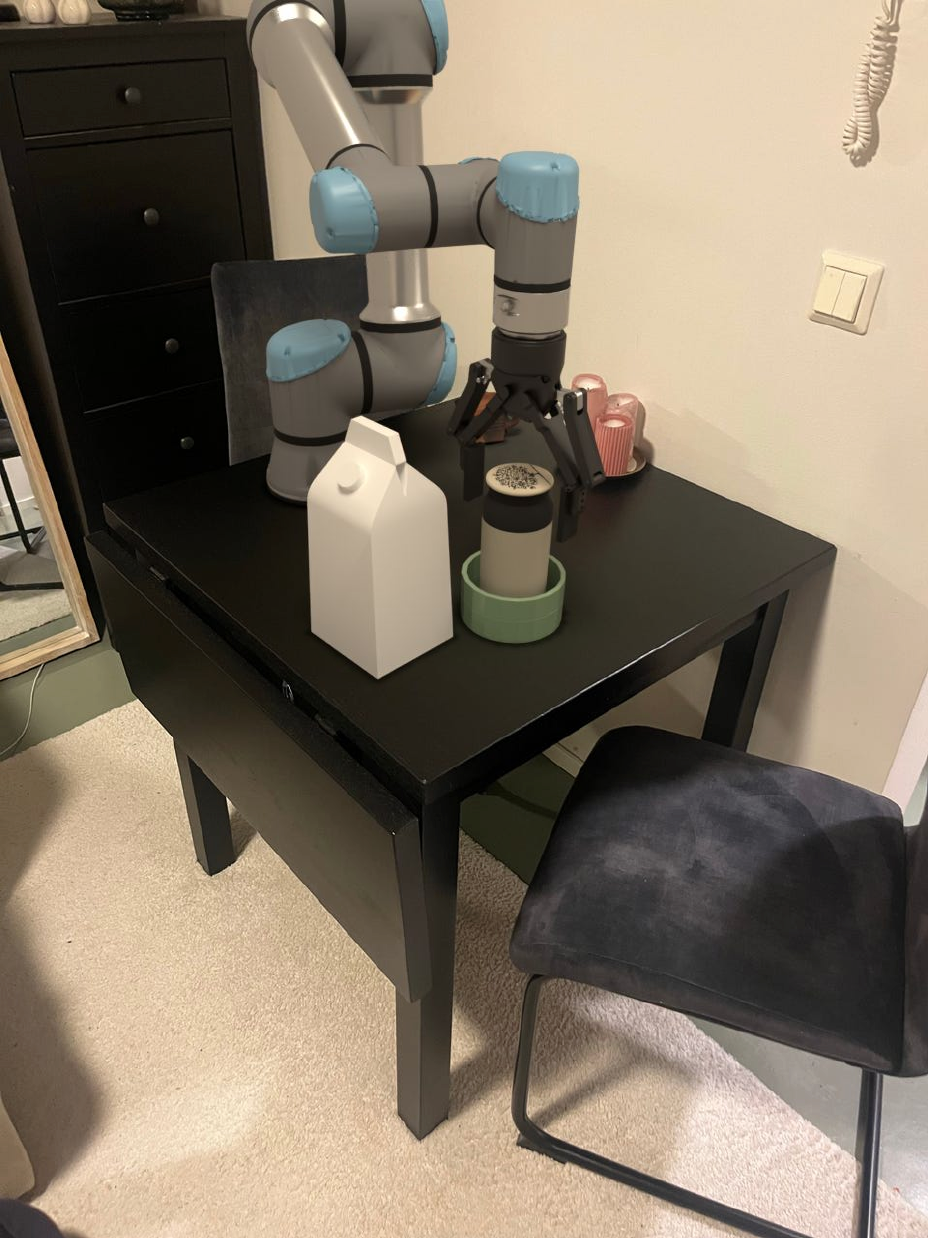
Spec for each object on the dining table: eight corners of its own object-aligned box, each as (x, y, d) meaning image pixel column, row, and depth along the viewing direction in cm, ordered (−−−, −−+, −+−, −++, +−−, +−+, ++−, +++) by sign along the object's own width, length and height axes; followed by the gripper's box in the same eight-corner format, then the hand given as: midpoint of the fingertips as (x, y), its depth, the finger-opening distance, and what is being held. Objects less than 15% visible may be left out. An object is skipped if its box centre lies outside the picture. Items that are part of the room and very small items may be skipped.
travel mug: (487, 634, 105) (494, 496, 95) (471, 597, 112) (475, 464, 101) (552, 626, 107) (565, 490, 97) (532, 589, 113) (543, 458, 103)
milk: (453, 636, 105) (457, 428, 90) (377, 679, 99) (368, 462, 84) (386, 594, 112) (379, 394, 97) (311, 631, 106) (291, 423, 90)
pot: (440, 613, 109) (440, 572, 106) (505, 575, 117) (507, 534, 113) (517, 656, 103) (520, 613, 99) (581, 612, 110) (586, 571, 107)
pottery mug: (455, 449, 148) (445, 399, 147) (463, 451, 158) (454, 404, 157) (526, 434, 147) (517, 383, 146) (530, 437, 156) (521, 389, 155)
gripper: (413, 309, 94) (416, 492, 106) (611, 367, 80) (588, 569, 93) (462, 295, 99) (459, 472, 111) (657, 348, 85) (629, 543, 97)
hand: (518, 517), depth 102 cm, fingers open, 13 cm apart
